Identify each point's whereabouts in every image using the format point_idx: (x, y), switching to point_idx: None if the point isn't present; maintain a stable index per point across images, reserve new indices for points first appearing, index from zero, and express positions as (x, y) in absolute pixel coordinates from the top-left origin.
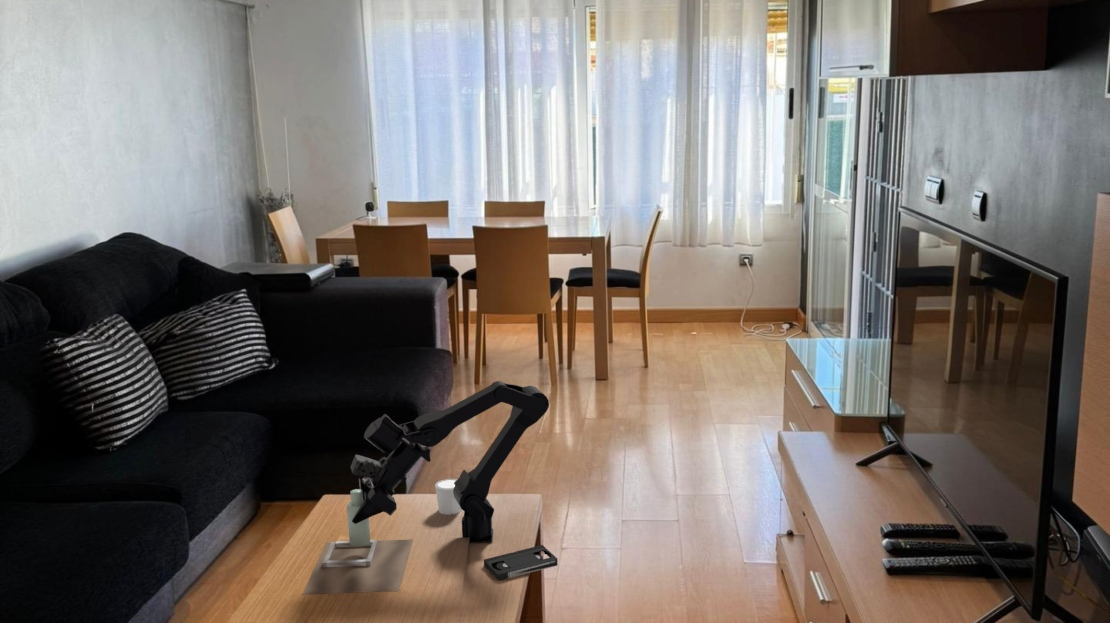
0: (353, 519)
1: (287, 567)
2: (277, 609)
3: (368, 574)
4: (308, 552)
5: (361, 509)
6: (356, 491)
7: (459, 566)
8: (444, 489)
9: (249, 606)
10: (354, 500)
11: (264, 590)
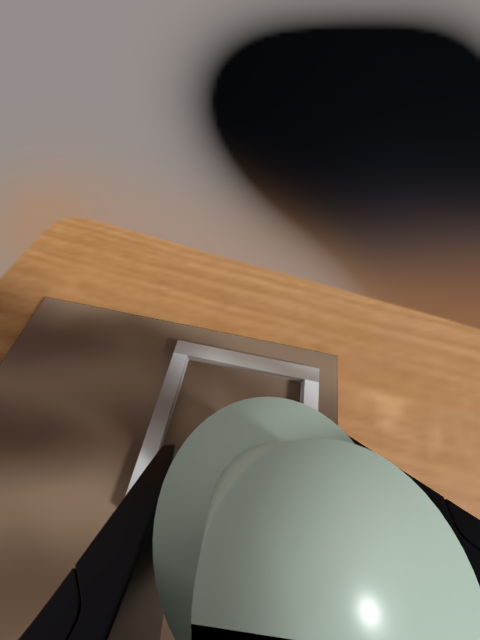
0: (154, 457)
1: (233, 275)
2: (37, 258)
3: (52, 501)
4: (303, 317)
5: (58, 594)
6: (345, 610)
7: None
8: None
9: (85, 218)
10: (213, 500)
11: (141, 238)
